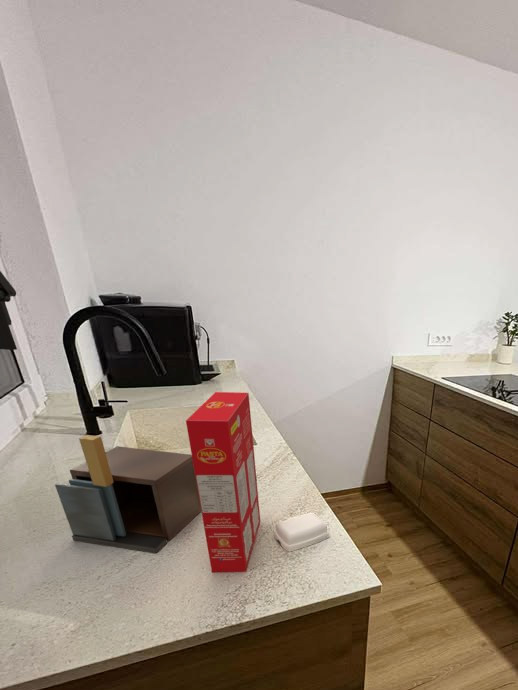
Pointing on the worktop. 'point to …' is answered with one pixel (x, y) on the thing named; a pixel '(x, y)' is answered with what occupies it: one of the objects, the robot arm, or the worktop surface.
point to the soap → (301, 531)
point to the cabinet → (134, 499)
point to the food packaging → (226, 478)
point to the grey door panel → (101, 479)
